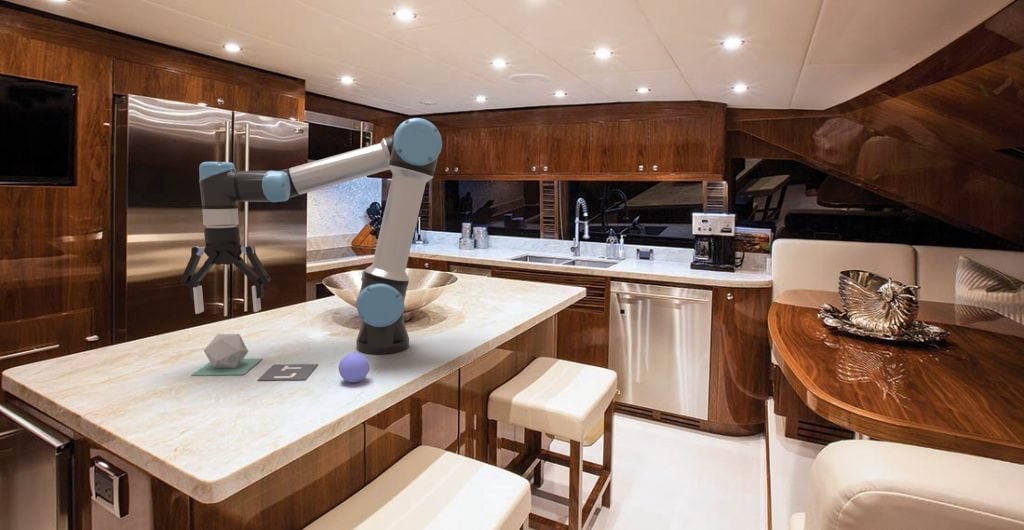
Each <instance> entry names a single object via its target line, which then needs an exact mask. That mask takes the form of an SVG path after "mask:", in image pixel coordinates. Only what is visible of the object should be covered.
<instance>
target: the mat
mask: <svg viewBox="0 0 1024 530" xmlns="http://www.w3.org/2000/svg"><path fill="white" fill-rule="evenodd" d="M262 360H263V358H261V357H260V358H243V359H242V361H241V362H240V363H239V364H238V366H237V367H236V368H213V366H212V365H211V363H210V361H209V362H208V363H206V364H205V365H204V366H202V367H200V368H199V369H198V370H196V371H195V372H193V373H191V375H190V376H191V377H193V376H194V377H204V376H205V377H210V376H211V377H215V376H216V377H218V376H220V377H221V376H224V377H225V376H231V377H232V376H245V375H246V374H248V373H249V372H250V371H251V370H252V369H253V368H254V367H255V366H257V365H258V364H259V363H260V362H262Z"/></svg>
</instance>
